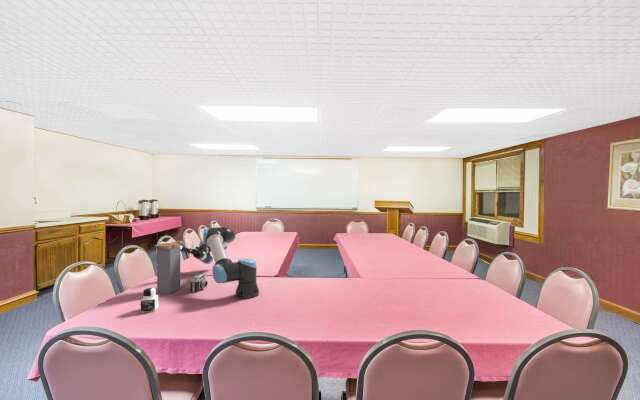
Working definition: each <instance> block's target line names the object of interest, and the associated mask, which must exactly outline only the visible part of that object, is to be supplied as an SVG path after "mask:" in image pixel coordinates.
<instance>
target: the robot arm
mask: <svg viewBox="0 0 640 400" xmlns="http://www.w3.org/2000/svg"><path fill="white" fill-rule="evenodd" d="M202 234H203V236H202V240H201V241H200V242H199V243H198V244H199V246H198V245H196V244H195V243H193V244H192V247H191V248H188V247H185V246H183V245H182V244H181V245H180V252H183V253H186V254H189V255H190V254H191V255H192V256H193V257H194V258H195V259H197V260H199V262H201V263H203V264H206V265H210V264H211V263H212V262H213V261H214V264H213V266H212V277H213V281H214V282H215V283H217V284H225V283H231V282H237V283H238V284H237V285H236V286H237V287H236V290H235V297H236V298H238V299H243V300H244V299H252V298H256V297H258V296H259V295H260V289H259V286H258V283H257V270H258V269H257V268H258V266H257V262H256V260H254V259H251V258H239V259H238V261H235V262H233V261H232V259H230V258H229V257H228V254H227V249H228V244H230V243H232V242H234V241H235V239H236V233H235V231H234V230H233V229H232V228H230V227H228V226H221V227H208V228H207V227H206V228H204V229H203V233H202ZM211 253H212V255H211Z"/></svg>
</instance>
